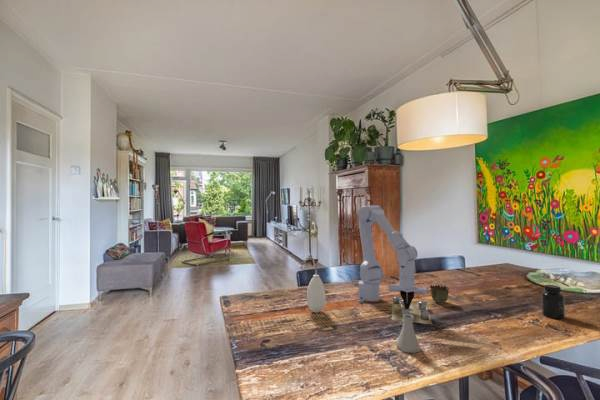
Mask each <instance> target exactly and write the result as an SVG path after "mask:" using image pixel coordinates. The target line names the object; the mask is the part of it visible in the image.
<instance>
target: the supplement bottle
mask: <svg viewBox="0 0 600 400" xmlns="http://www.w3.org/2000/svg"><path fill="white" fill-rule="evenodd" d="M561 292H562V290H561V286H559V285H554V284H544V291H542V292H541V313H542V315H543V316H544V317H547V318H549V319H552V320H564V319H565V318H566V307H565V306H566V304H565V303H566V302H565V296H564V295H563V293H561Z"/></svg>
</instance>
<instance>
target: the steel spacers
mask: <svg viewBox="0 0 600 400" xmlns="http://www.w3.org/2000/svg"><path fill="white" fill-rule="evenodd" d="M392 303H393V305H394V304H398V305H400V303H401V305H404V302H403V299H402V298H401V296H397V295H392ZM417 305H418V309H419V310H421V319H422V320H429V316H430V310H426V306H427V301H424V300H418V304H417ZM404 306H405V305H404ZM404 314H409V308H405V307H403V308H401V317H403V315H404Z"/></svg>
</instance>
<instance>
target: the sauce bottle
mask: <svg viewBox="0 0 600 400" xmlns="http://www.w3.org/2000/svg"><path fill="white" fill-rule="evenodd" d="M317 272H318V271H317V269H315V274H313V275H312V278H311V280H310V281H309V283H308V286H307V291H306V301H307V305H308V309H310V310H311V312H313V313H316V314H318V313H320V312H321V311H322V310H323V309H324V308H325V305H326V297H327V296H326V289H325V286H324V282H323V281H322V278H320V275H319V274H317Z"/></svg>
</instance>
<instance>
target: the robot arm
mask: <svg viewBox="0 0 600 400" xmlns="http://www.w3.org/2000/svg"><path fill="white" fill-rule="evenodd" d="M357 215H358V228H359V235H360V236H359V237H360V242H361V243H360V244H361V249H362V256H363V258H362V259H363V262H362V263H361V264H360V265H359V268H360V270H359V278H360V280H359V281H358V292H357V293H358V295H357V296H358V303H362V304H364V301H368V302H378V301H380V290H381V289H380V282H381V280H382V278H383V277H384V271H383V269H382V266H381V263H380V262H379V261H378V260H377V257H376V252H375V245H374V239H373V238H374V237H373V232H372V226H373V224H374V223H377V224H378V225H379V226H380V228H381V229H382V230H383V232H385V234H386V235H387V240H388V243H390V245H391V247H392V248H393V249H394V250H395V252H396V253H395V255H396V258H397V260H398V264H399V284H395V285H394V284H393V285H390V284H388V285H387V291H388V292H399V294H400V298H401V299H403V302H404V305H405V308H410V304H412V301H413V300H414V297H415V294H423V295H428V289H427V288H426V287H419V286H415V271H416V269H415V260H416V259H417V258H418V250H417V249H416V247H415V246H414V245H410V244H409V242H408V241H407V240H406V239H405V238H404V236H403V233H402V232H400V231H396V230H395V229H394V227H393V225H392V224H391V223H390V221H389V219H388V218H387V217H386V215H385V211H384V209H383V208H382V207H381V205H377V204H376V205H362V206H360V208H359V209H358V211H357Z"/></svg>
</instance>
